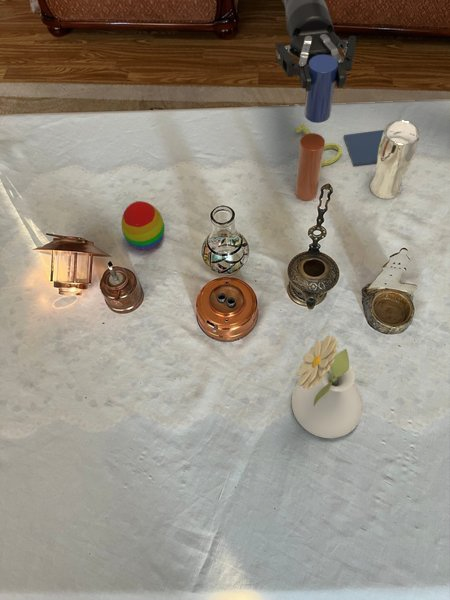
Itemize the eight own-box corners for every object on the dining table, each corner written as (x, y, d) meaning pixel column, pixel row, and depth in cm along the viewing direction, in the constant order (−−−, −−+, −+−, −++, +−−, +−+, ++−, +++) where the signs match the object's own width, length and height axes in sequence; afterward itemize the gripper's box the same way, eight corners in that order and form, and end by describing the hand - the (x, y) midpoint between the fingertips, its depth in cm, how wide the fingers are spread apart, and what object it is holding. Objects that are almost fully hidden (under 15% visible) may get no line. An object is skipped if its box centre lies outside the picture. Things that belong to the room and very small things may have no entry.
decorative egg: (168, 222, 108) (161, 189, 99) (164, 255, 104) (156, 223, 95) (129, 222, 108) (118, 189, 100) (124, 255, 104) (112, 223, 95)
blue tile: (382, 132, 118) (383, 129, 117) (394, 161, 113) (395, 158, 112) (343, 137, 117) (343, 134, 117) (353, 166, 113) (354, 163, 112)
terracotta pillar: (314, 183, 111) (321, 131, 99) (319, 199, 109) (327, 148, 97) (293, 186, 111) (297, 134, 99) (297, 202, 109) (302, 152, 97)
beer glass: (362, 180, 111) (376, 124, 98) (392, 172, 112) (410, 115, 99) (377, 204, 107) (393, 149, 94) (408, 195, 108) (428, 139, 95)
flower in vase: (323, 361, 90) (344, 285, 69) (375, 407, 86) (415, 341, 64) (269, 411, 86) (274, 347, 65) (321, 463, 82) (344, 412, 60)
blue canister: (327, 103, 94) (334, 52, 85) (333, 121, 91) (340, 70, 83) (301, 107, 94) (306, 56, 85) (307, 124, 91) (312, 74, 83)
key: (300, 128, 120) (301, 121, 118) (345, 152, 115) (347, 145, 113) (281, 146, 117) (281, 139, 115) (326, 172, 113) (327, 164, 111)
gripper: (268, 5, 90) (281, 68, 81) (351, -3, 90) (373, 59, 81) (267, 46, 96) (280, 108, 87) (345, 38, 96) (365, 100, 87)
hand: (325, 84), depth 84 cm, fingers closed on blue canister, 4 cm apart
